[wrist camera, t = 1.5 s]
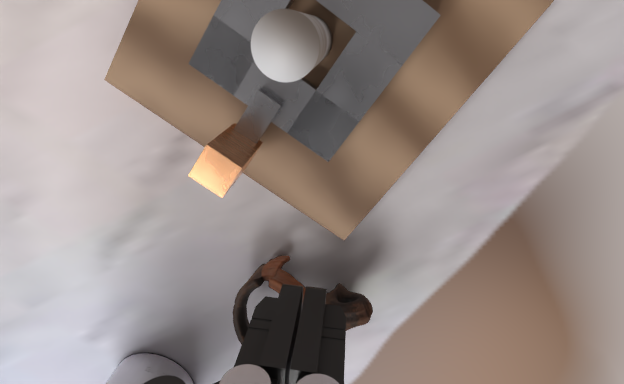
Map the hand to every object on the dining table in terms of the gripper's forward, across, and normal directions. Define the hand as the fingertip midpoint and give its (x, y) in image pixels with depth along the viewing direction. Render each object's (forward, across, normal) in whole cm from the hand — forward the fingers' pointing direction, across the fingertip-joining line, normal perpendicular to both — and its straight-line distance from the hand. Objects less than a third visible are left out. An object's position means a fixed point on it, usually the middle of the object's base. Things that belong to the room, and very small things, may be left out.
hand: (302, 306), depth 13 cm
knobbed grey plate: (+17, +3, -6) cm, 18 cm away
